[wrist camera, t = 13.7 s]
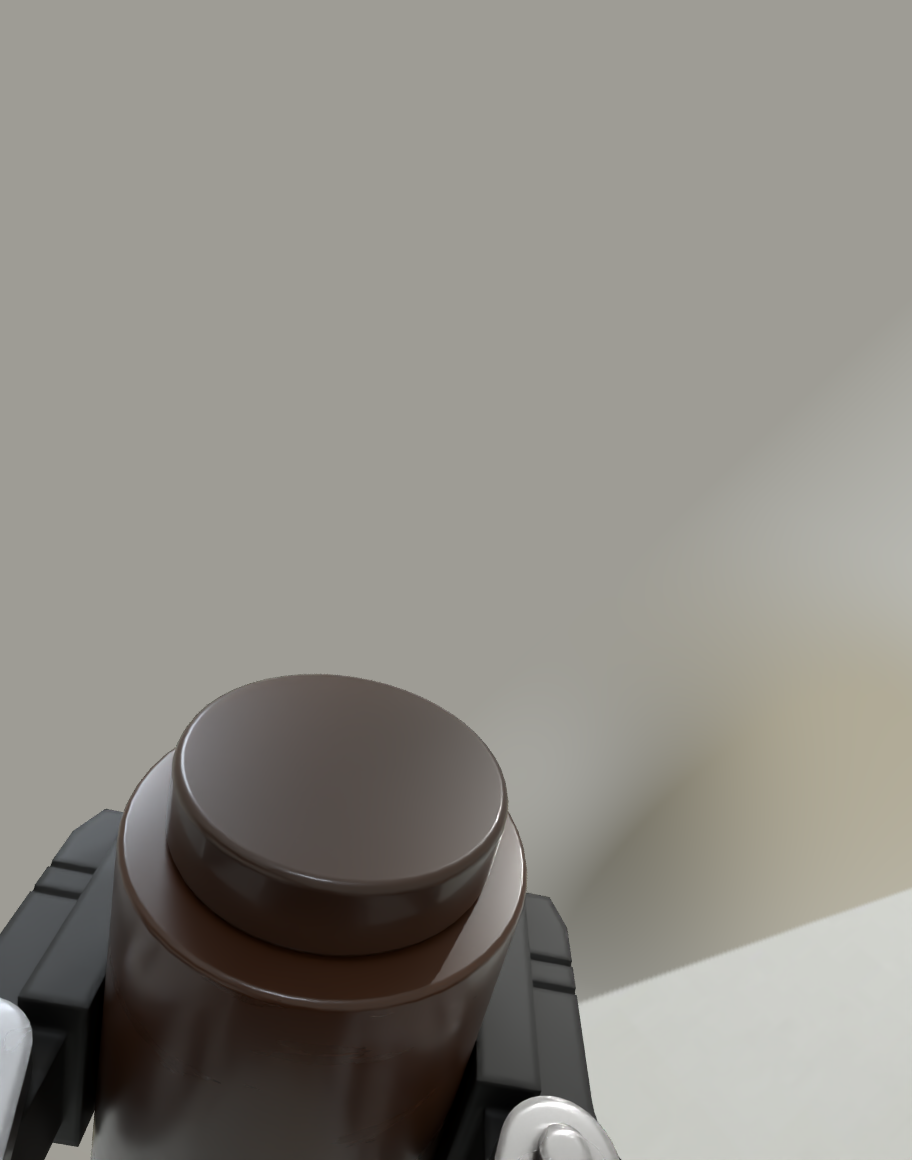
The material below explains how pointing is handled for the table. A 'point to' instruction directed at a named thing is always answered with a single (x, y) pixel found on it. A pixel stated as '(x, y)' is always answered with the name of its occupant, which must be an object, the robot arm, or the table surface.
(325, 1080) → the pepper mill
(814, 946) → the table surface
